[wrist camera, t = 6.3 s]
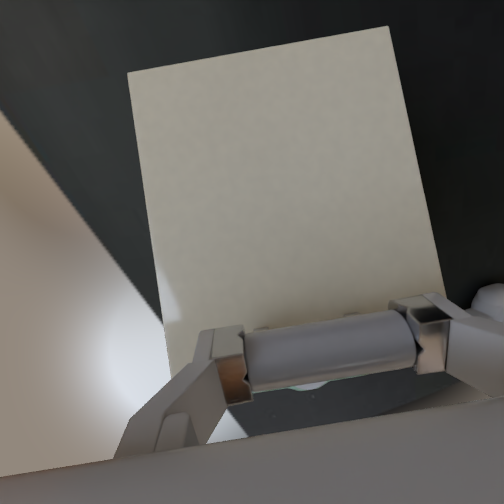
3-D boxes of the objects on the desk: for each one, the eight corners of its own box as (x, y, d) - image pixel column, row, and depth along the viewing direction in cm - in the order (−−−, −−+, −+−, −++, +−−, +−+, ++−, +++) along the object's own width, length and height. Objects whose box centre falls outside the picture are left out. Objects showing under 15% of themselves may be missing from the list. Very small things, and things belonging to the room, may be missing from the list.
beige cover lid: (446, 349, 13) (567, 401, 8) (179, 393, 13) (129, 470, 8) (381, 38, 14) (450, -92, 9) (134, 83, 14) (64, -20, 9)
